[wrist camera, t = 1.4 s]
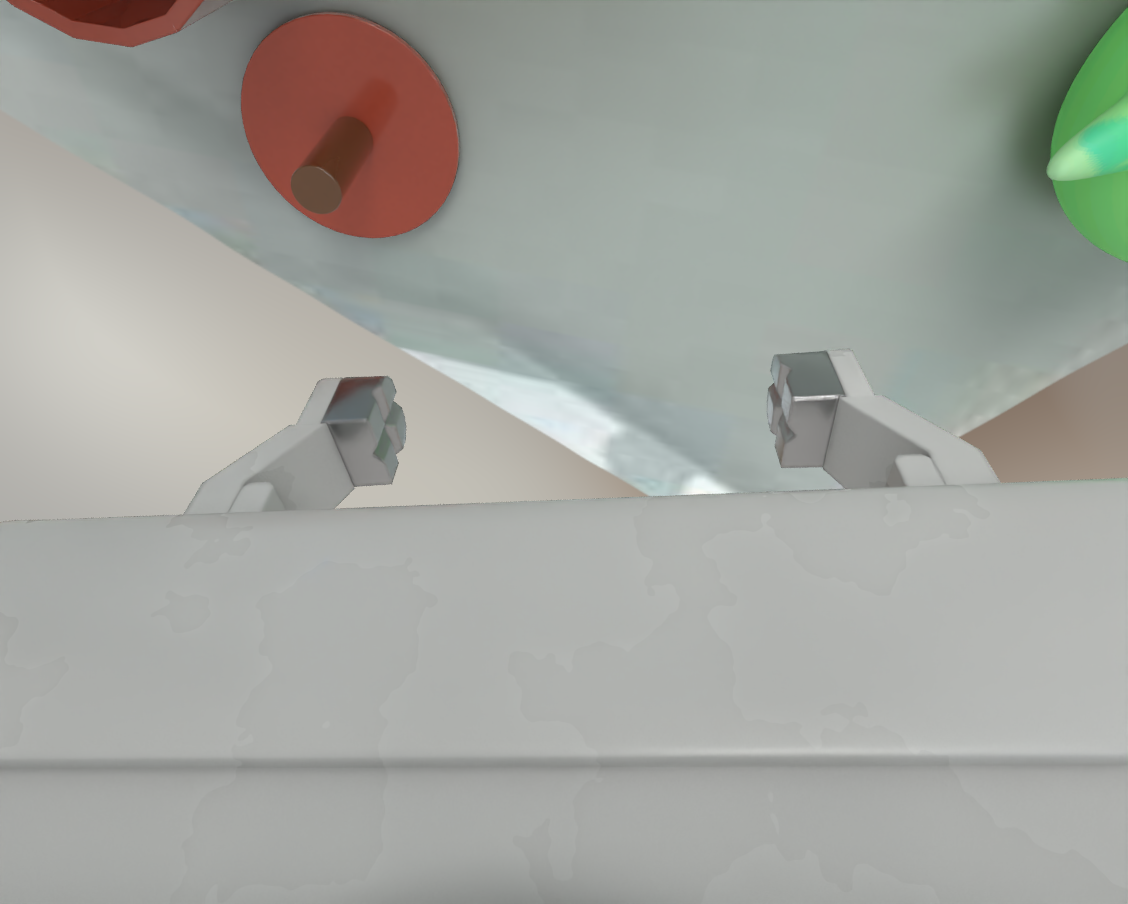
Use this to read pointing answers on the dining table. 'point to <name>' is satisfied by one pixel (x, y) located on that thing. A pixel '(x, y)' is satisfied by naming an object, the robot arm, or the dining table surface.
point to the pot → (119, 17)
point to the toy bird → (1096, 145)
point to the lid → (350, 124)
